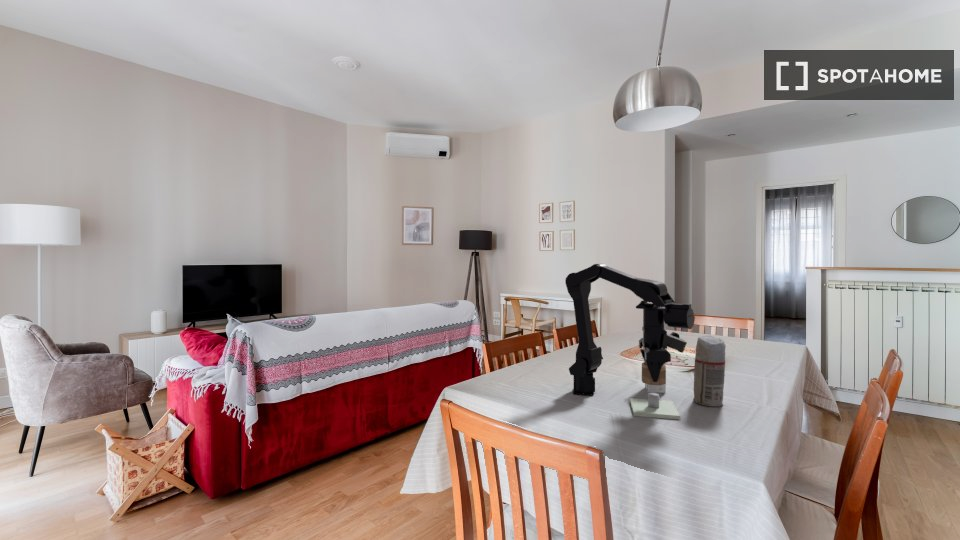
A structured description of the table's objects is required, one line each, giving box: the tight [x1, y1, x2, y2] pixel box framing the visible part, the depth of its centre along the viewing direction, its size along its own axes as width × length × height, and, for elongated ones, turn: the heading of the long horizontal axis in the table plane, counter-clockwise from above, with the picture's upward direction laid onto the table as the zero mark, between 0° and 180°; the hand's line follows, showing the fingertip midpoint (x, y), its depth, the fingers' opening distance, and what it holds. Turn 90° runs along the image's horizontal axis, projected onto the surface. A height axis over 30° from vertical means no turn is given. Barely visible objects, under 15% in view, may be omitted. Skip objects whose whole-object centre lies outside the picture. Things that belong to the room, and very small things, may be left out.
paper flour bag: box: [693, 335, 726, 407], centre depth 128 cm, size 8×8×20 cm
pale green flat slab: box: [629, 392, 681, 420], centre depth 123 cm, size 12×12×4 cm
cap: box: [641, 361, 667, 385], centre depth 123 cm, size 6×6×6 cm
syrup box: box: [644, 363, 667, 394], centre depth 140 cm, size 6×6×14 cm
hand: (653, 378), depth 123 cm, fingers closed on cap, 6 cm apart
